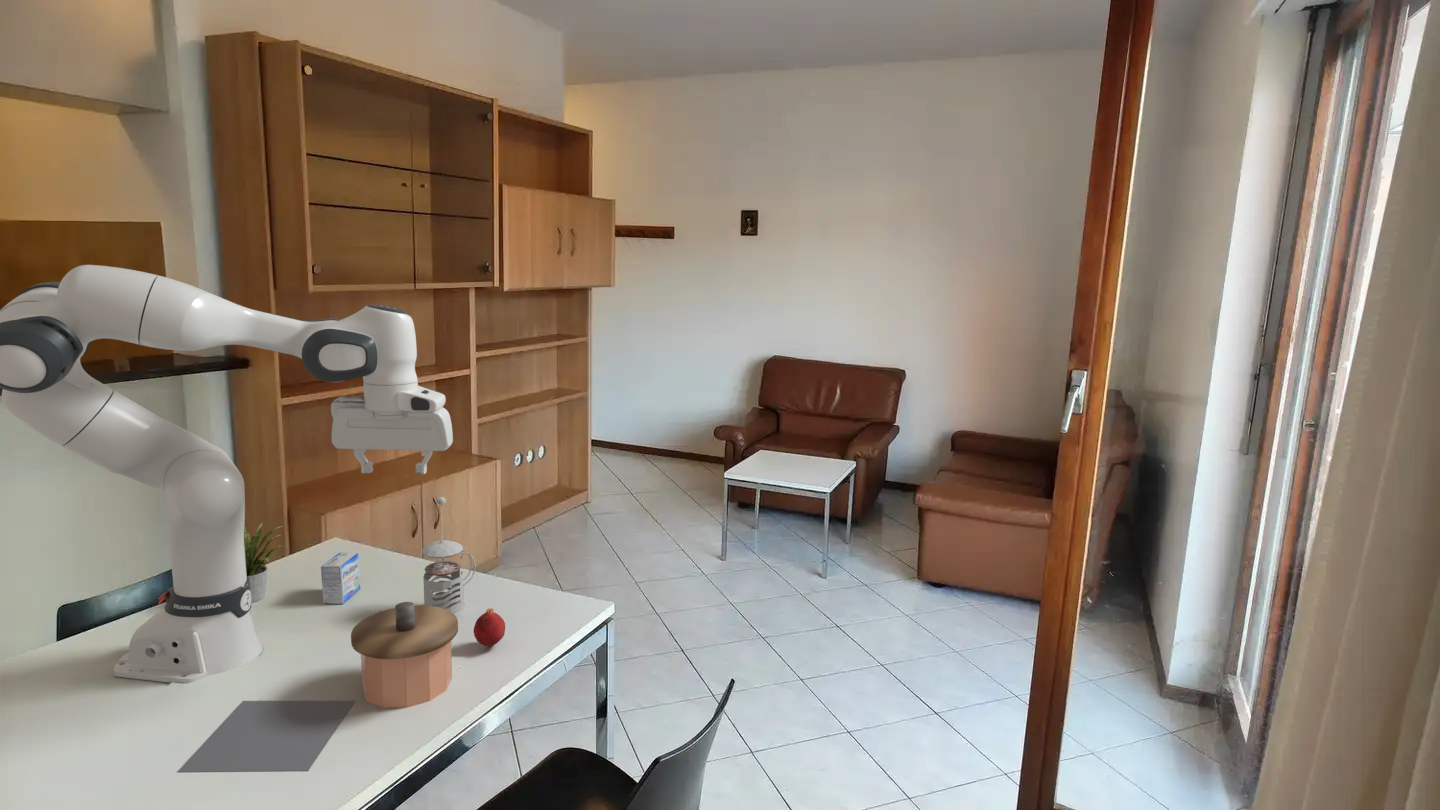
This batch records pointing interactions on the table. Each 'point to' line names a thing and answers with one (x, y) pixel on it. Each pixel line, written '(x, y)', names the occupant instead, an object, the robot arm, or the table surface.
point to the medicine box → (340, 578)
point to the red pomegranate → (489, 628)
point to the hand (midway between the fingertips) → (394, 472)
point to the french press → (445, 575)
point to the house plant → (257, 562)
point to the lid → (404, 631)
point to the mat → (269, 737)
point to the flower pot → (406, 678)
